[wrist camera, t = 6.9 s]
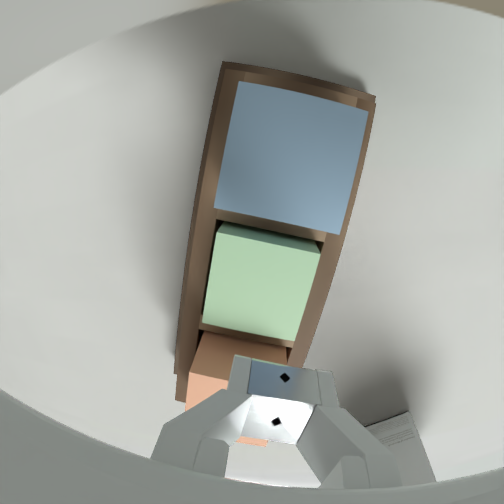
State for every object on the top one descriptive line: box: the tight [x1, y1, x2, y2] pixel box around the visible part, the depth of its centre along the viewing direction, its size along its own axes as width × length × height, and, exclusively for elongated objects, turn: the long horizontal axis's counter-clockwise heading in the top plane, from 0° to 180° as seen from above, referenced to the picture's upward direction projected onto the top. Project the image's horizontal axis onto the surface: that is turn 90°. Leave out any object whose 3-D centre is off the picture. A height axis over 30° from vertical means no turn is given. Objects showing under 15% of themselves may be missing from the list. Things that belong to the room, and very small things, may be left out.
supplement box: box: [365, 412, 436, 486], centre depth 22 cm, size 9×9×15 cm
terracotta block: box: [185, 330, 287, 447], centre depth 18 cm, size 5×5×5 cm
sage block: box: [202, 221, 321, 341], centre depth 18 cm, size 5×5×5 cm
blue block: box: [214, 81, 368, 235], centre depth 14 cm, size 5×5×5 cm
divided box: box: [174, 61, 376, 403], centre depth 20 cm, size 10×24×6 cm, turn 168°
